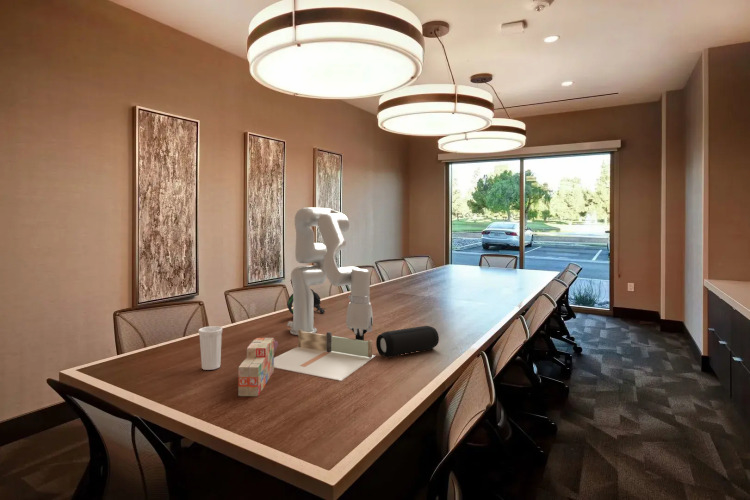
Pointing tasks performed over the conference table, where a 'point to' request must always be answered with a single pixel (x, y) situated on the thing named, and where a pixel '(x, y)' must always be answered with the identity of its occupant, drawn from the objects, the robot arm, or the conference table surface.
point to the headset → (316, 303)
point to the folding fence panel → (351, 346)
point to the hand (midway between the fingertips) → (359, 344)
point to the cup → (210, 347)
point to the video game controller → (275, 345)
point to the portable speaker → (406, 341)
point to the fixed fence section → (314, 340)
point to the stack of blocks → (256, 367)
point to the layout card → (320, 362)
